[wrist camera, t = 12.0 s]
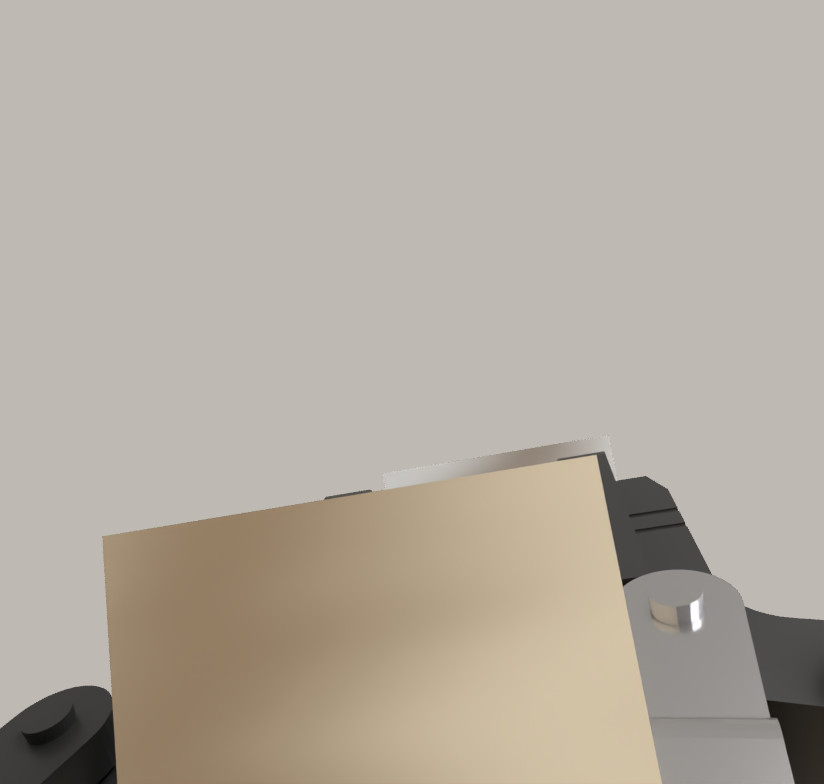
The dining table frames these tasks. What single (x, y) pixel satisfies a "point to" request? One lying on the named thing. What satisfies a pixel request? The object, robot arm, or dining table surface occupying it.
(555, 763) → the mallet
